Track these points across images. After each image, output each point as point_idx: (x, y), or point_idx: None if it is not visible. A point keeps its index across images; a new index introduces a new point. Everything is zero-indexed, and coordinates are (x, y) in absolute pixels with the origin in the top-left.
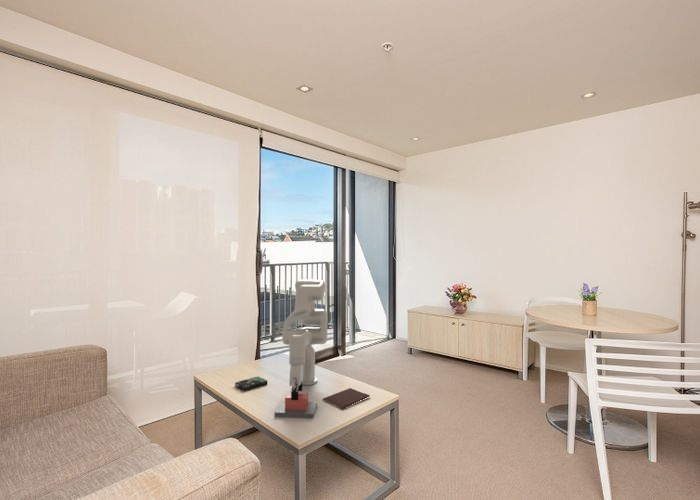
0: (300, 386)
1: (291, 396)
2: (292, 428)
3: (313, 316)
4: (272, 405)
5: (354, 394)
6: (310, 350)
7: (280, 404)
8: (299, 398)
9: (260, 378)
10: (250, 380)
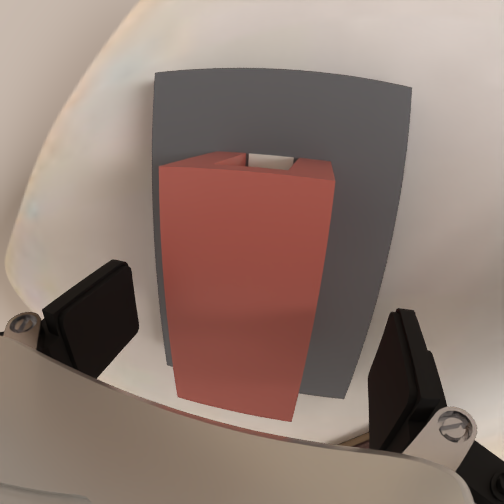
0: (374, 415)
1: (88, 278)
2: (61, 235)
3: None
4: (393, 18)
5: None
6: None
7: (331, 85)
8: (171, 343)
9: None
10: None
